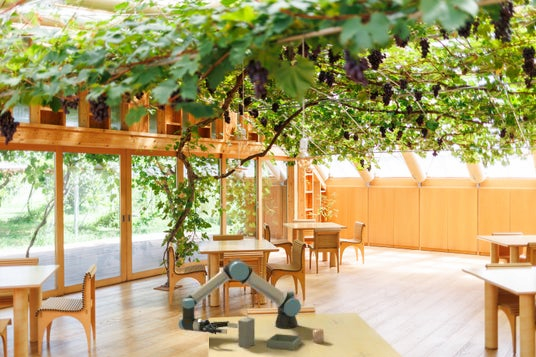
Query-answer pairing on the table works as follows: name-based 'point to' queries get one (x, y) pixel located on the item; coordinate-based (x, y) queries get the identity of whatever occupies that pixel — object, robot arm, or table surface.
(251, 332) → the skincare box
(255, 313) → the table surface
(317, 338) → the peach rounded cylinder
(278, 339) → the bin
